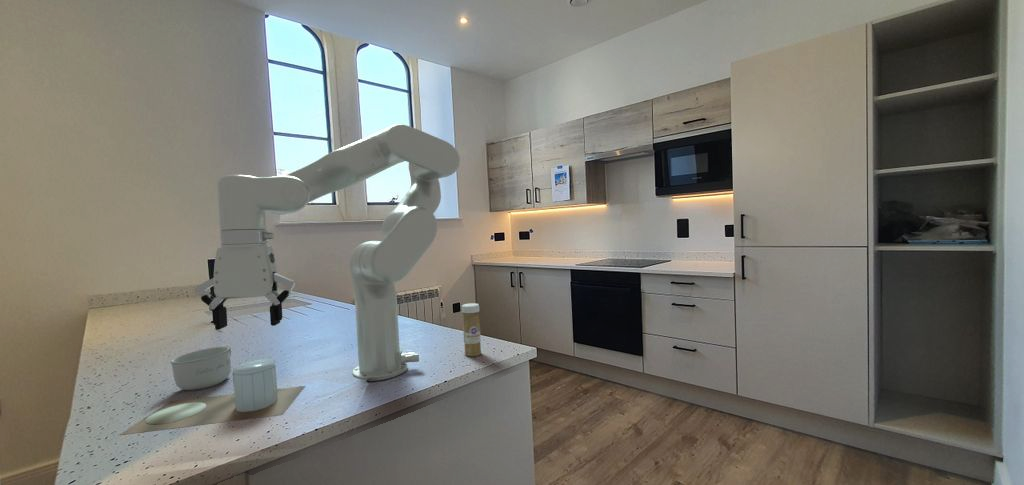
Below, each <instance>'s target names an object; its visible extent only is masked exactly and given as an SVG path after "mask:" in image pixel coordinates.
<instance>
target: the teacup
mask: <svg viewBox="0 0 1024 485" xmlns="http://www.w3.org/2000/svg"><path fill="white" fill-rule="evenodd" d="M231 355H232V349H231V347H230V346H229V345H228V344H222V345H219V346H216V347H215V346H214V347H207V348H203V349H198V350H193V351H190V352H188V353H187V352H186V353H184V354H181V355H178V356H176V357H174V358H172V359H171V360H170V364H171V367H172V373H173V374H172V375H173V379H174V382H175V386H177V388H178V389H181V390H184V391H196V390H197V391H198V390H202V389H206V388H211V387H214V386H217V385H218V384H221V383H223V382H224V381H225V380H226V379H227V378H228V377H229V376H230V374H231V371H232V363H231V362H232V361H231Z"/></svg>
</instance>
